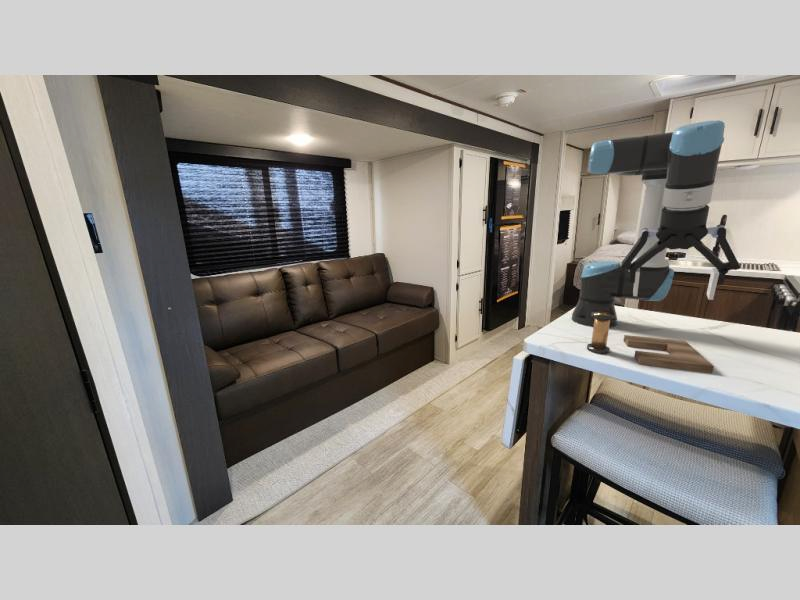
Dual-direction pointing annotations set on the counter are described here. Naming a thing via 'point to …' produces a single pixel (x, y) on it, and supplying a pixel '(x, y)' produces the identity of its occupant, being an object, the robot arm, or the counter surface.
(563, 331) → the counter surface
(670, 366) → the notched board
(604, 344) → the bobbin
